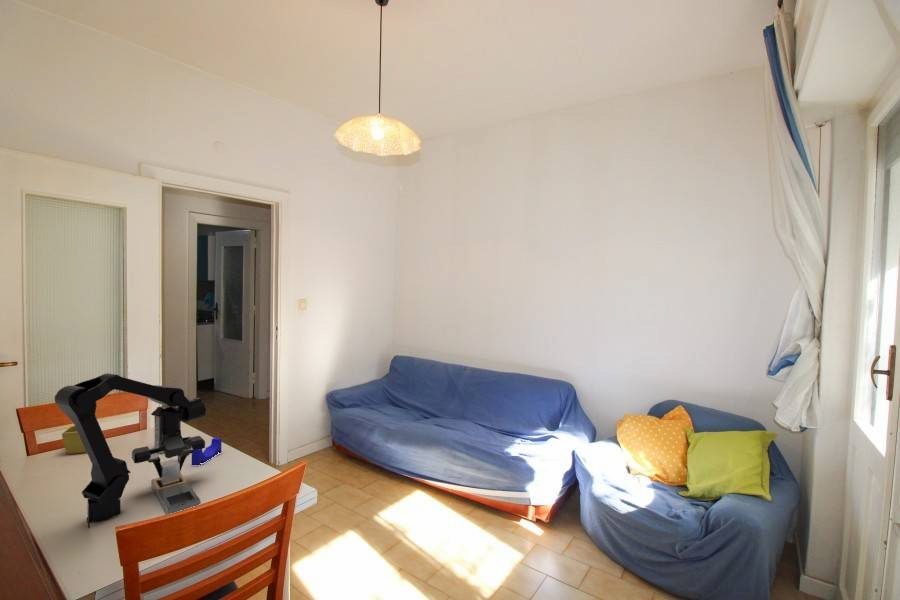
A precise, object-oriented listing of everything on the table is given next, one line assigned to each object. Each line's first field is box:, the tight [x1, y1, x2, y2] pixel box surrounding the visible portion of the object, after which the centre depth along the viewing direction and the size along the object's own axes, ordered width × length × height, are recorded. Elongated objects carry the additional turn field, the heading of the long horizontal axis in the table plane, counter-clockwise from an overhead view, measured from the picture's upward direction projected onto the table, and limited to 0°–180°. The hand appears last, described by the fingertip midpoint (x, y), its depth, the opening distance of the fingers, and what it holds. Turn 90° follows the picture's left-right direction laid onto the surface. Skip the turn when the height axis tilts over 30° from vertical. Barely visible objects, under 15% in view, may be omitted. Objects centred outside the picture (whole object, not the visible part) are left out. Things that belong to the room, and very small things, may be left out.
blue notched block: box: [191, 437, 222, 466], centre depth 157 cm, size 12×4×6 cm, turn 173°
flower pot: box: [61, 425, 87, 455], centre depth 161 cm, size 9×9×9 cm
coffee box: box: [153, 405, 177, 455], centre depth 165 cm, size 9×6×16 cm
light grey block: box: [159, 458, 181, 487], centre depth 133 cm, size 4×4×7 cm
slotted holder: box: [150, 471, 201, 515], centre depth 128 cm, size 8×24×3 cm, turn 44°
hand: (169, 475), depth 133 cm, fingers closed on light grey block, 4 cm apart
